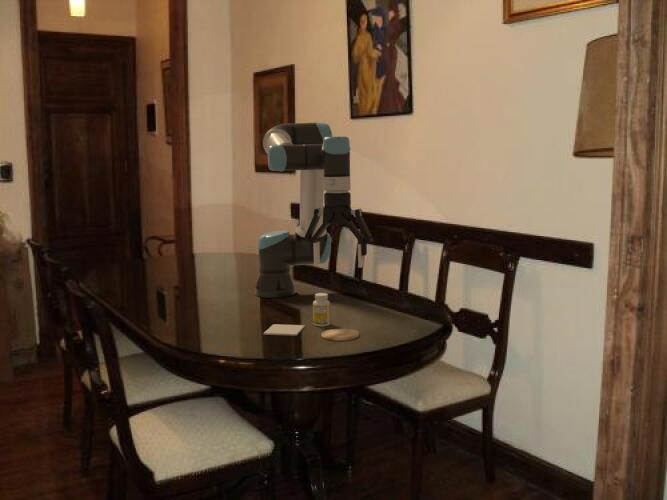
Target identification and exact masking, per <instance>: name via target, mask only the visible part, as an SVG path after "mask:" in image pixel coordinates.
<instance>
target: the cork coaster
mask: <svg viewBox="0 0 667 500" xmlns="http://www.w3.org/2000/svg"><path fill="white" fill-rule="evenodd" d="M359 337H360V332H359V331H358V330H356V329H351V328H331V329H327V330H324V331H322V332H321V338H322V339H324V340H327V341H334V342H346V341H351V340H352V341H353V340H355V339H356V340H357V339H358V338H359Z"/></svg>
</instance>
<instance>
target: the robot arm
mask: <svg viewBox="0 0 667 500" xmlns="http://www.w3.org/2000/svg"><path fill="white" fill-rule="evenodd" d="M262 147H263V149H264V152H265V153H266V154H267V165H268V166H267V167H268V169H269V170H270V171H273V172H277V171H278V172H286V171H299V175H300V177H299V178H300V179H299V225H298V226H297V227H296V228H295V232H294V233H295V234H294V233H293V234H290V232H289V230H286V229H285V230H276V231H275V230H274V231H269V232H266V233H264V234H261V235H260V236H258V239H257V245H258V246H257V250H258V277H257V282H256V284H255V289H254V294H255V296H257V297H259V298H260V297H261V298H268V299H269V298H270V299H271V298H273V299H274V298H287V297H290V296H294V295H295V294H296V285H295V282H294V280H293V277H292V274H291V266H302V265H303V266H308V265H313V266H319V265H323V264H325V263H326V262H327V261H328V260H329V257H330V254H331V248H332V246H331V243H332V239H331V235H330V233H329V232H327V228H328V227H329V226H330V225H331V226H334V225H339V226H343V225H344V226H346V227H347V229H348V230H349V231H350V232H351V233H352V235H353V236H355V238H356V240H357V241H358V242H359V244H358V245H357V262H358V264H357V268H363V267H364V266H365V256H366V255H367V253H368V245H367V244H368V243H371V242H374V238H373V235H372V233H371V231H370V229H369V227H368V225H367V223H366V221H365V219H364V216H363V210H362V208H357V209H352V206H351V205H352V196H351V195H352V193H350V191H351V186H352V185H351V146H350V138H349V137H347V136H333V133H332V130H331V127H330V125H329V124H328V123H324V122H302V123H301V122H299V123H297V122H296V123H292V122H291V123H290V122H289V123H288V122H287V123H281V124H278V125H276V126H275V125H274V126H273V127H271V128H270V129H269V130H267V131H266V133H265V134H264V136H263V137H262ZM324 191H325V192H324ZM352 215H353V217H354V218H355V220H356V222H357V224H358V226H359V228H360V230H359V228H358V227H357V225H355V223H354V221H353V220H352V219H351V217H352ZM324 217H325V219H324Z"/></svg>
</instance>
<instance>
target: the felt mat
mask: <svg viewBox="0 0 667 500" xmlns="http://www.w3.org/2000/svg"><path fill="white" fill-rule="evenodd" d="M305 327H306V326H305V325H304V324H277V323H276V324H275V323H274V324H272V325H270V326H269V328H268V329H267V330H265V331H264V332H263V336H264V335H267V336H268V335H269V336H293V337H296V336H298V335H299V334H300V333H301V331H303V329H304V328H305Z"/></svg>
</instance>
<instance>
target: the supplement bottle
mask: <svg viewBox="0 0 667 500" xmlns="http://www.w3.org/2000/svg"><path fill="white" fill-rule="evenodd" d="M328 298H329V294H328V293H326V292H319V293H315V294H314V299H315V300H313V302H312V323H313V325H314V326H315V327H321V328H322V327H327V326H328V327H329V325H330V324H331V302H330V300H328Z"/></svg>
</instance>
